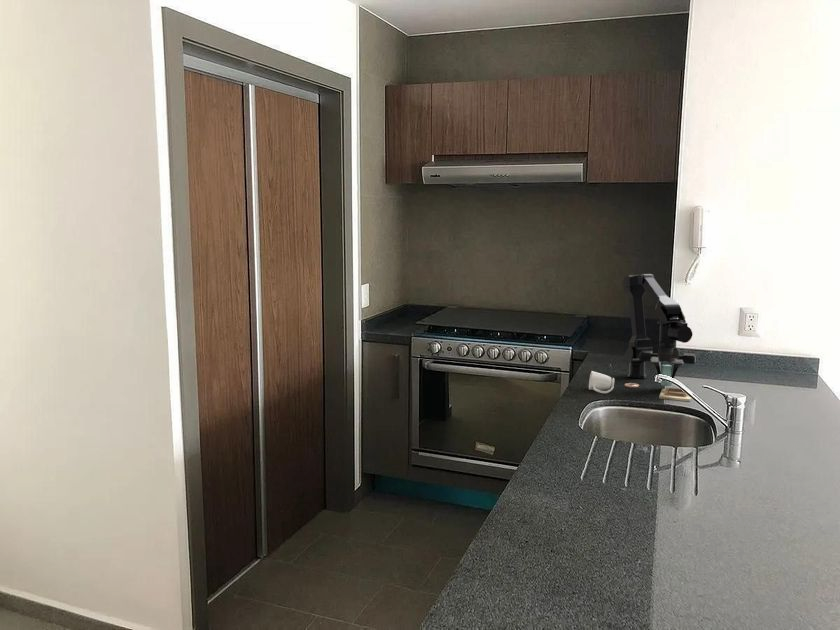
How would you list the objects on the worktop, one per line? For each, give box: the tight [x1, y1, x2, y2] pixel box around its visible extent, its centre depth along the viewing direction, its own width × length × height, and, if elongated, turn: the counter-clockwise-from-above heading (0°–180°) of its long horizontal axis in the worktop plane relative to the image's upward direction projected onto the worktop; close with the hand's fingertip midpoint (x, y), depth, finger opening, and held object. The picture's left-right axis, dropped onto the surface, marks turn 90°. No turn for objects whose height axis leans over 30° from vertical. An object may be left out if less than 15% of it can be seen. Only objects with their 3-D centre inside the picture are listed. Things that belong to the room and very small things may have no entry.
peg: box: [660, 364, 673, 387], centre depth 252 cm, size 4×4×7 cm
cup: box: [588, 370, 615, 394], centre depth 252 cm, size 7×10×8 cm
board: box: [658, 387, 692, 402], centre depth 243 cm, size 12×10×2 cm
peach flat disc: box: [624, 382, 640, 388], centre depth 258 cm, size 5×5×1 cm
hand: (666, 380), depth 253 cm, fingers closed on peg, 4 cm apart
